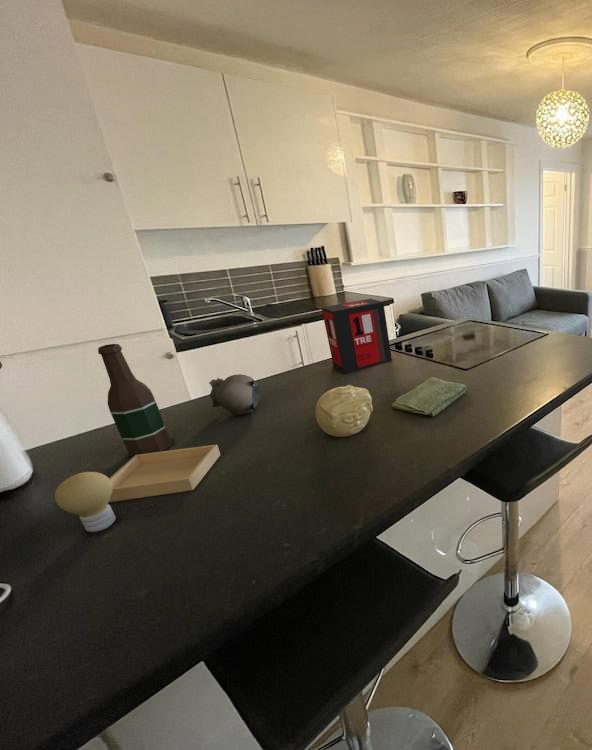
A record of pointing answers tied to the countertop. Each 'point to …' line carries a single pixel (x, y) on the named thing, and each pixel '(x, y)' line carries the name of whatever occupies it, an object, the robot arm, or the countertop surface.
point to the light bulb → (87, 499)
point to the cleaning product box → (357, 334)
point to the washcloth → (430, 397)
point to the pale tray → (162, 472)
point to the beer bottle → (133, 406)
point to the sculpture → (344, 410)
